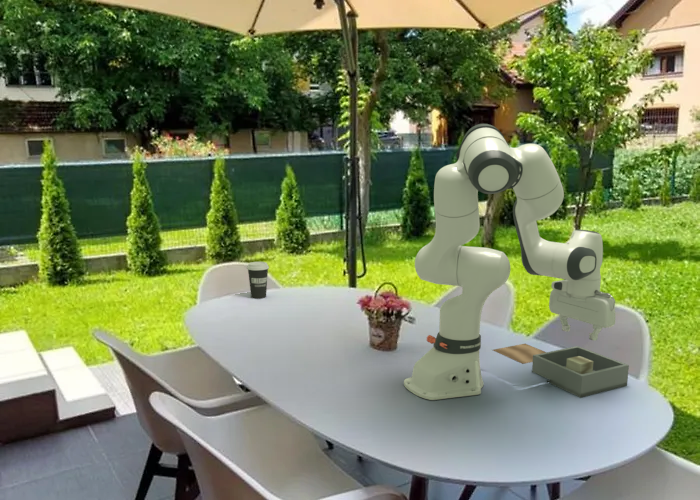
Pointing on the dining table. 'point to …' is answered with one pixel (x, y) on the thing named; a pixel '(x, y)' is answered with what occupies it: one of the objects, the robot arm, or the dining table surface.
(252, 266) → the coffee cup
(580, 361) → the cream block
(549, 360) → the bin
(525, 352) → the walnut board
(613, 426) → the dining table surface
